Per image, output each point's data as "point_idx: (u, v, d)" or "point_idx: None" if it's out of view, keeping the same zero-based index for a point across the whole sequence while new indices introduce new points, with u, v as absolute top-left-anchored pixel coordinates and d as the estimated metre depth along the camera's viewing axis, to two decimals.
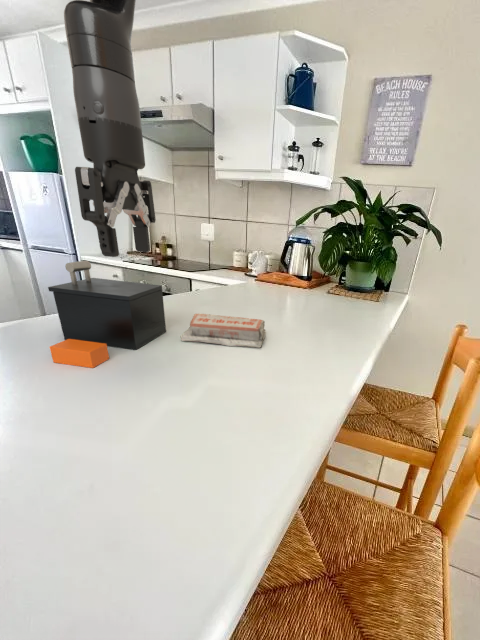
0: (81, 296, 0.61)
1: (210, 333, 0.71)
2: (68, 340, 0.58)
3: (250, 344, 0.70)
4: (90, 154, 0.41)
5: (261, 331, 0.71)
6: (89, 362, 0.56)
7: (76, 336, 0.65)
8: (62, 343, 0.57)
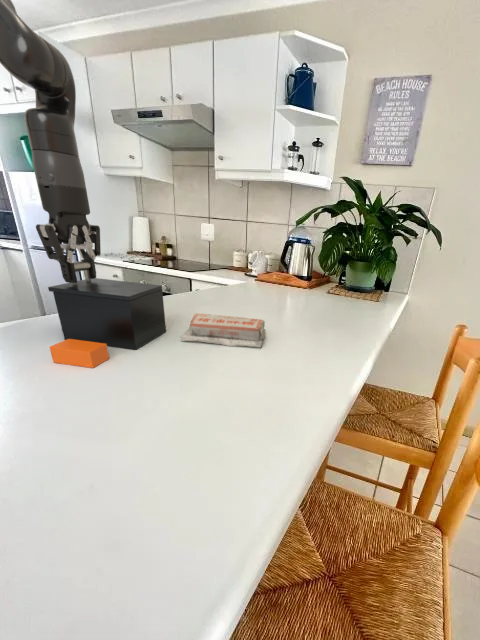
0: (81, 296, 0.61)
1: (210, 333, 0.71)
2: (68, 340, 0.58)
3: (250, 344, 0.70)
4: (46, 208, 0.58)
5: (261, 331, 0.71)
6: (89, 362, 0.56)
7: (76, 336, 0.65)
8: (62, 343, 0.57)
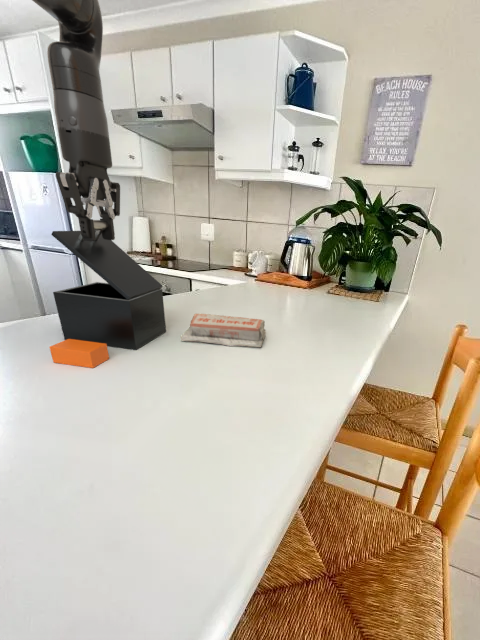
0: (81, 296, 0.61)
1: (210, 333, 0.71)
2: (68, 340, 0.58)
3: (250, 344, 0.70)
4: (67, 156, 0.53)
5: (261, 331, 0.72)
6: (89, 362, 0.56)
7: (76, 336, 0.65)
8: (62, 343, 0.57)
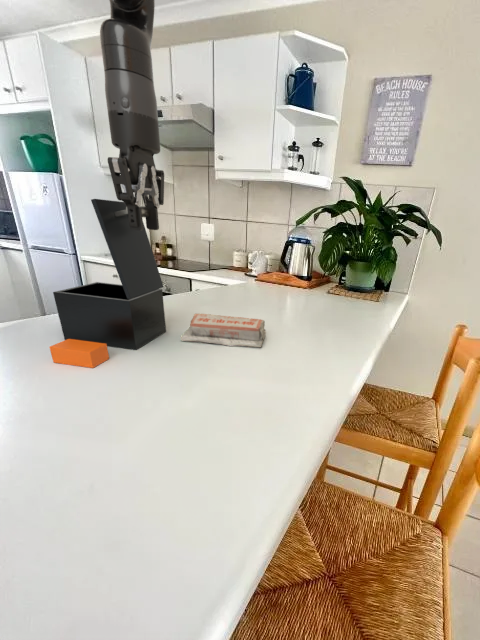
0: (81, 296, 0.61)
1: (210, 333, 0.71)
2: (68, 340, 0.58)
3: (250, 344, 0.70)
4: (117, 140, 0.51)
5: (261, 331, 0.72)
6: (89, 362, 0.56)
7: (76, 336, 0.65)
8: (62, 343, 0.57)
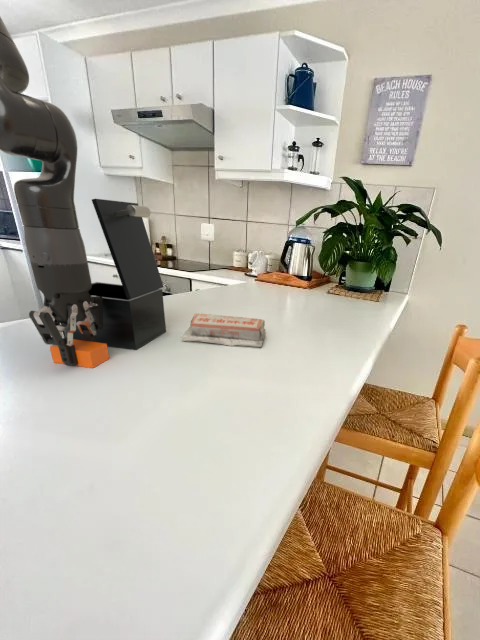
0: None
1: (210, 333, 0.71)
2: None
3: (250, 344, 0.71)
4: (41, 289, 0.49)
5: (261, 331, 0.72)
6: (89, 362, 0.56)
7: (76, 336, 0.65)
8: None
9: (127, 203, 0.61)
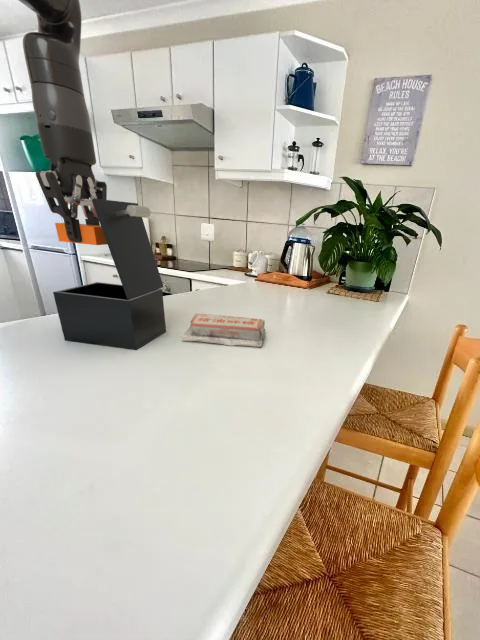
0: (81, 296, 0.61)
1: (211, 333, 0.71)
2: None
3: (250, 344, 0.71)
4: (47, 152, 0.51)
5: (261, 330, 0.72)
6: (93, 239, 0.57)
7: (76, 336, 0.65)
8: None
9: (127, 203, 0.61)
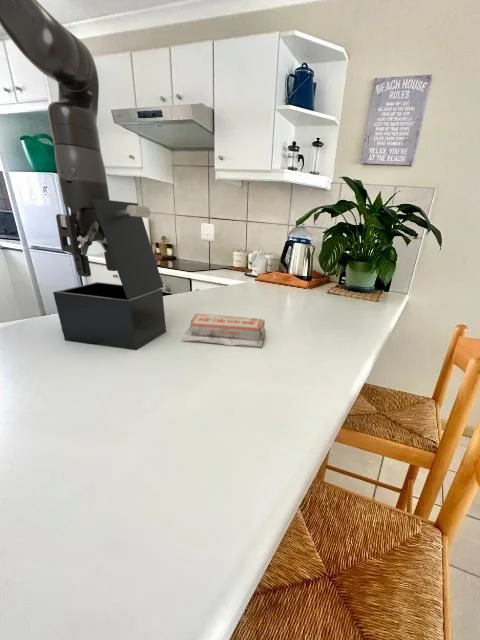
0: (81, 296, 0.61)
1: (211, 333, 0.71)
2: None
3: (250, 344, 0.71)
4: (68, 203, 0.57)
5: (262, 330, 0.72)
6: None
7: (76, 336, 0.65)
8: None
9: (127, 203, 0.61)
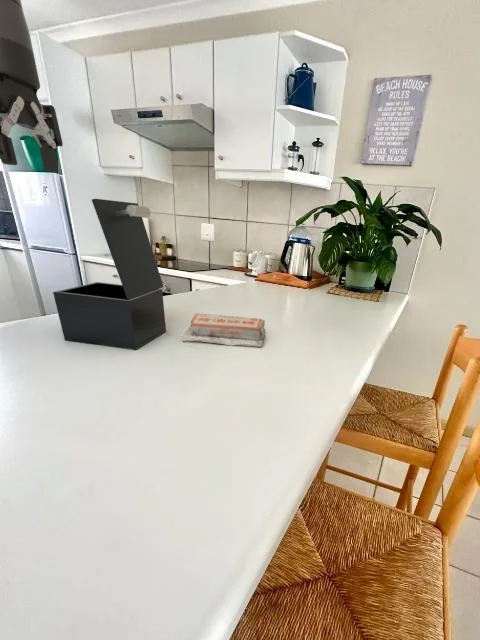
0: (81, 296, 0.61)
1: (211, 333, 0.71)
2: None
3: (251, 344, 0.71)
4: None
5: (262, 330, 0.72)
6: None
7: (76, 336, 0.65)
8: None
9: (127, 203, 0.61)
